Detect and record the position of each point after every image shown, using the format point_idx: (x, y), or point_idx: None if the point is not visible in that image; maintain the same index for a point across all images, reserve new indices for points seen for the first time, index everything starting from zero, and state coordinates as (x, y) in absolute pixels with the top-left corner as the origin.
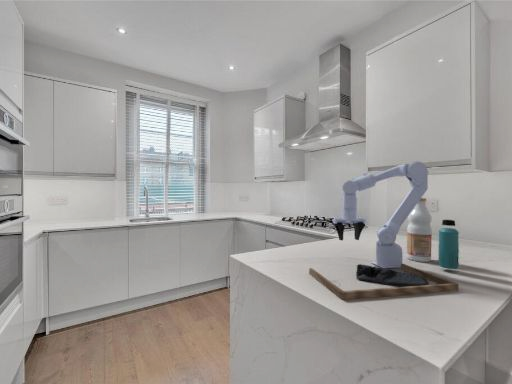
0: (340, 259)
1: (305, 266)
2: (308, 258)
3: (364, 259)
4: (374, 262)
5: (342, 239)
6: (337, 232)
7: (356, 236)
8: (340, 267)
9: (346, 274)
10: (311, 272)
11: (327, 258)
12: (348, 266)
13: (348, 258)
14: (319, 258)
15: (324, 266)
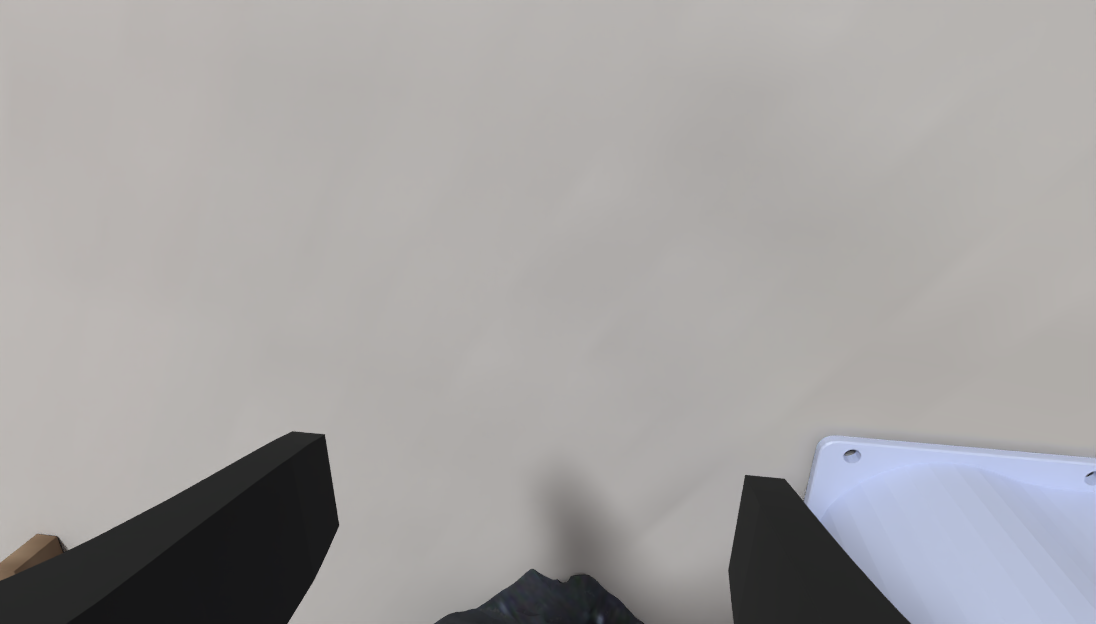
0: (519, 187)
1: (16, 361)
2: (71, 45)
3: (895, 259)
4: (844, 473)
5: (314, 548)
6: (110, 537)
7: (753, 600)
8: (357, 467)
9: (327, 614)
10: None
11: (348, 96)
12: (458, 461)
13: (679, 157)
14: (229, 74)
15: (205, 404)
